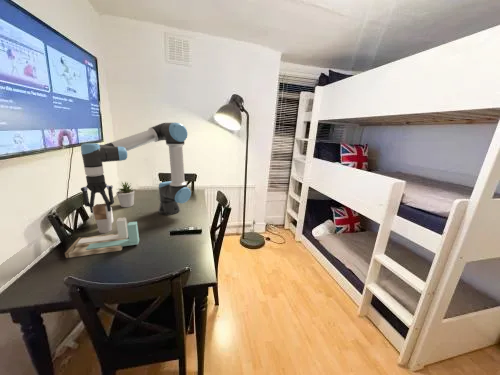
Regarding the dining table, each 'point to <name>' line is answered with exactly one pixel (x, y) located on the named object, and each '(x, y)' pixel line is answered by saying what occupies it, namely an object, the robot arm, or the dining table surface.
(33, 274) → the dining table surface
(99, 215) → the block
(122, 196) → the potted plant
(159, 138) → the robot arm
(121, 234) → the strip grey
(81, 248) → the board
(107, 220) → the coffee cup
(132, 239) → the strip teal
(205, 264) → the dining table surface
